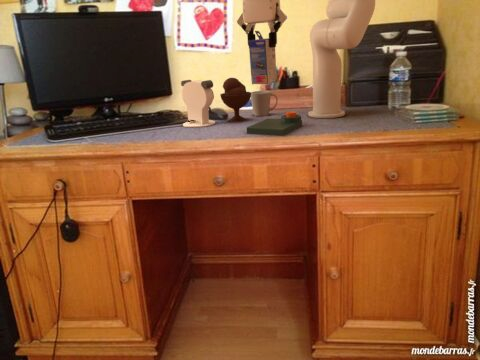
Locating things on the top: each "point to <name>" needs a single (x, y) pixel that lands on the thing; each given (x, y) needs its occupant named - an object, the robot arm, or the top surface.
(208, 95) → the beige round-topped stand
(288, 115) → the tare button
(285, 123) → the scale
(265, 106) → the cup
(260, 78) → the ink cartridge box
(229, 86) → the ice cream bowl
